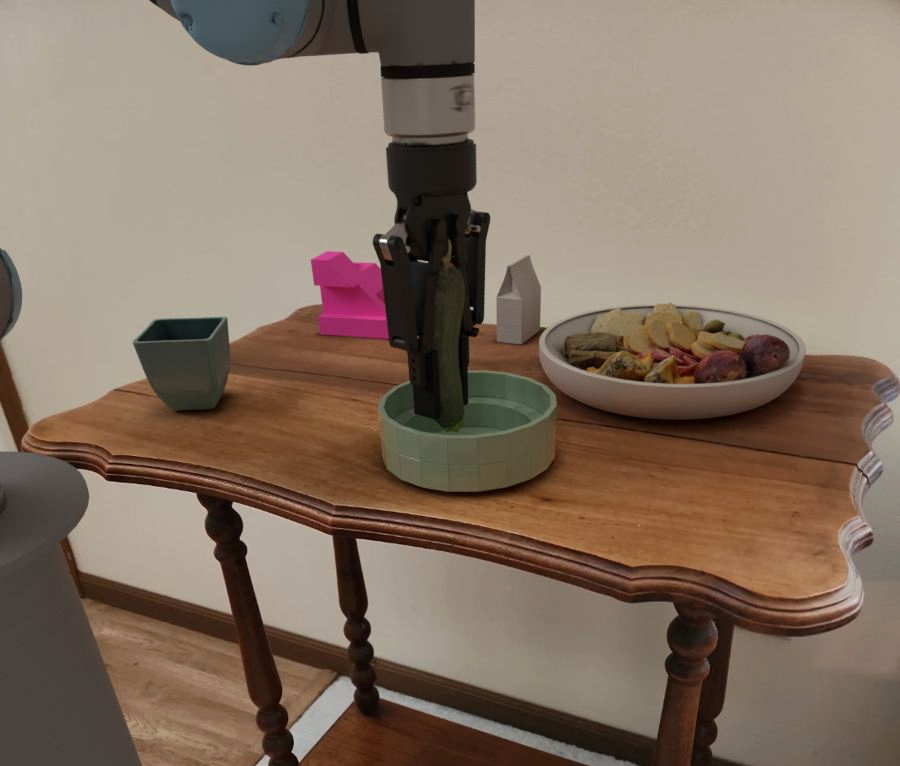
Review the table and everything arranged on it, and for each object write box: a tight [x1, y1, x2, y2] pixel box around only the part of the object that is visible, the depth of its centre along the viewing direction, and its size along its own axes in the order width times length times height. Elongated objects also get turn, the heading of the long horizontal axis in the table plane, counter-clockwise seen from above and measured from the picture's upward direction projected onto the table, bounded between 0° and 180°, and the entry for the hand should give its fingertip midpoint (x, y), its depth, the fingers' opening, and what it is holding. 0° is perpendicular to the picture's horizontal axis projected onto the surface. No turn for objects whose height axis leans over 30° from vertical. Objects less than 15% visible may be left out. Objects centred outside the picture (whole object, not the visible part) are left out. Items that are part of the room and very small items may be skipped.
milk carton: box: [495, 254, 542, 345], centre depth 111 cm, size 4×7×10 cm, turn 153°
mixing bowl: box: [377, 369, 558, 493], centre depth 80 cm, size 17×17×6 cm
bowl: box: [538, 302, 807, 421], centre depth 95 cm, size 30×30×8 cm
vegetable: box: [431, 239, 465, 433], centre depth 76 cm, size 4×4×20 cm
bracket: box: [310, 250, 389, 340], centre depth 117 cm, size 12×10×10 cm
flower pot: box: [132, 316, 231, 411], centre depth 94 cm, size 9×9×9 cm
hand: (441, 408), depth 80 cm, fingers closed on vegetable, 4 cm apart
